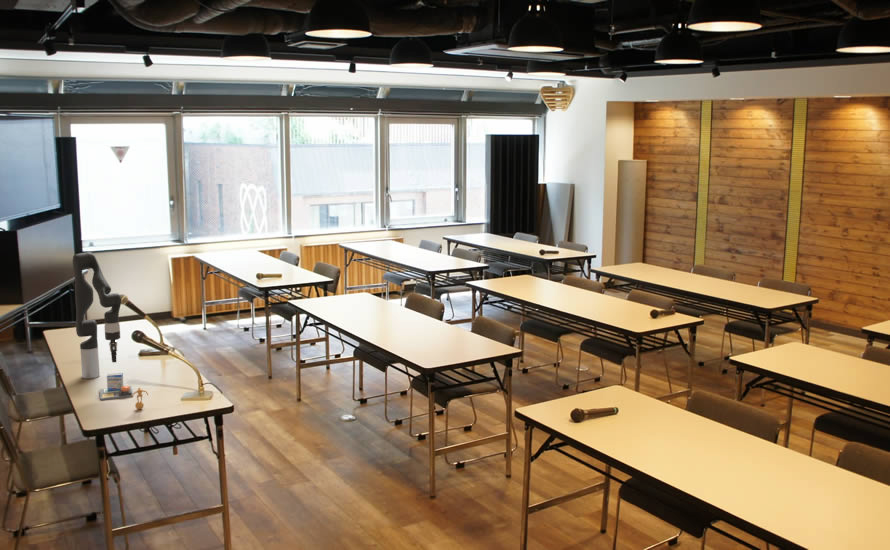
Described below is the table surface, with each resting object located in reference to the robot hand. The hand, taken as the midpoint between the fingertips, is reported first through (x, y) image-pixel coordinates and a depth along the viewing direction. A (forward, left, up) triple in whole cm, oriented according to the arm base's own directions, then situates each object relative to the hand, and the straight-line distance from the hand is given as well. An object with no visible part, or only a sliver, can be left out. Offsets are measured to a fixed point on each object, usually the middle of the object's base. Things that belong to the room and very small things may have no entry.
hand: (114, 361), depth 420 cm
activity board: (+4, 0, -17) cm, 18 cm away
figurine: (+36, +10, -17) cm, 41 cm away
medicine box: (0, 0, -16) cm, 16 cm away
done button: (+9, +5, -14) cm, 17 cm away
